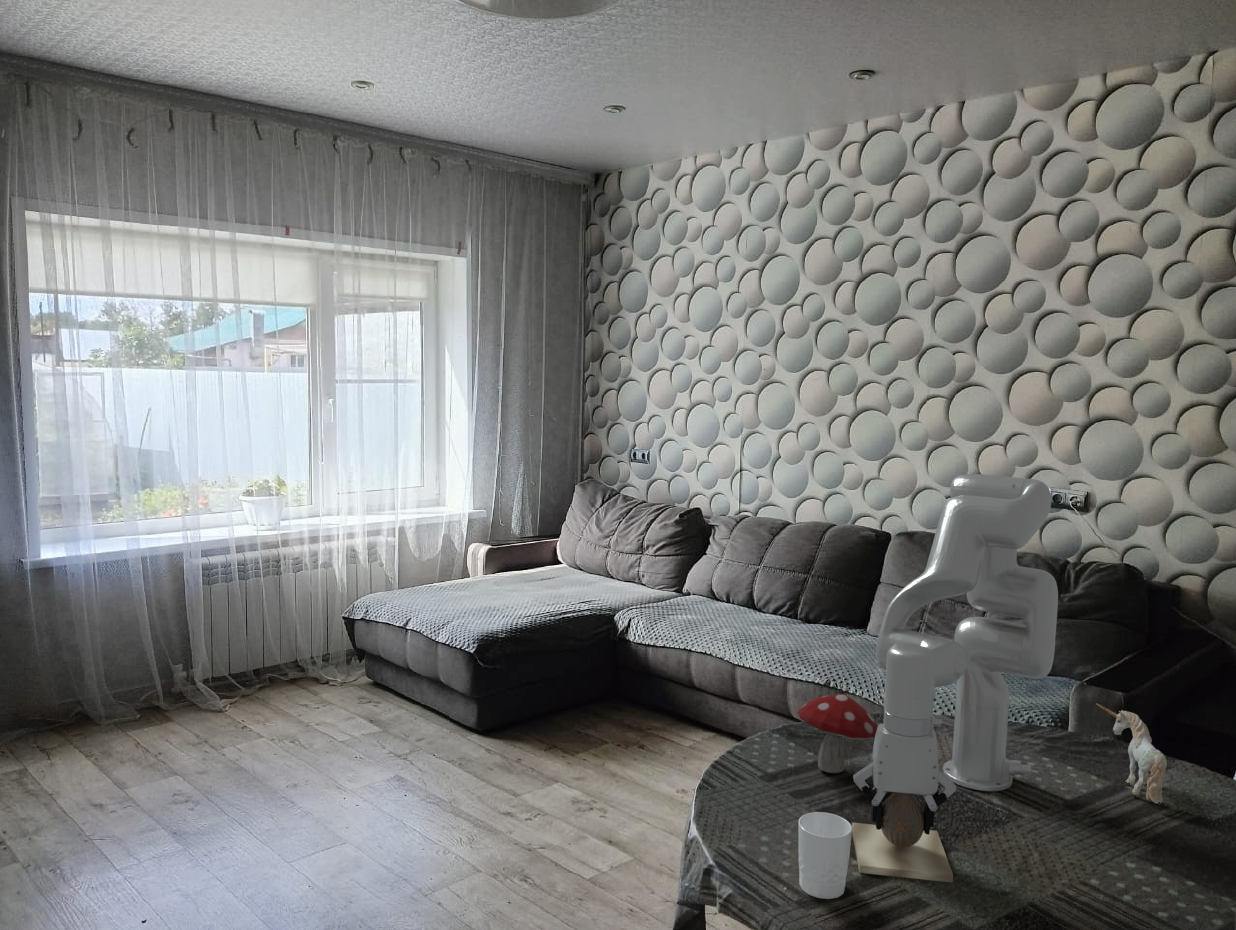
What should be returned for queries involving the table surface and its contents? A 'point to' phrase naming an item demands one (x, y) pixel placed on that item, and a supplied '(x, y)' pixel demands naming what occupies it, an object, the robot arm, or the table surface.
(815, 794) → the table surface
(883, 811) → the vase
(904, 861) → the birch pad
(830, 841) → the white cup
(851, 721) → the decorative mushroom
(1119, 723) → the unicorn figurine
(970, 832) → the table surface
